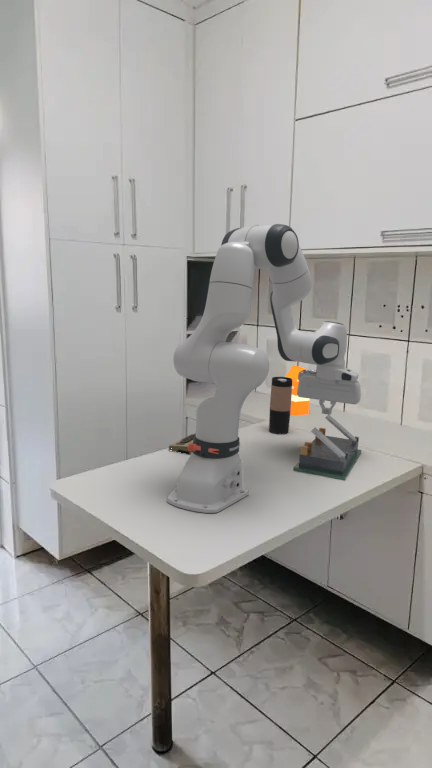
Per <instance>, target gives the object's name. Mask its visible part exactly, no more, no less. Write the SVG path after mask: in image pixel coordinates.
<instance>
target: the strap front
mask: <svg viewBox="0 0 432 768" xmlns="http://www.w3.org/2000/svg"><path fill="white" fill-rule="evenodd" d="M310 432H311V433H312V434H313V435H314V436H317V437H318V438H319V439H320V440H321V441H322V442H323V443H324V444H326V445H327V446H328V447H329V448H330V449H331V450H332V451H333V452H335V453H336V454H337V455H338V456H339V457H340V458H341V456H344V457H345V456H346V454H345V453H344V452H343V451H341V450H340V449H339V448H338V447H337V446H336V445H335V444H334V443H332V442H331V441H330V440H329V439H328V438H327V437H326V436H327V435H326V434H325V435H323V434H322V433H321V432H320V431H319V428H317V427H316V426H315V427H313V429H312V430H310Z"/></svg>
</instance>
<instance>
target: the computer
mask: <svg viewBox="0 0 432 768" xmlns="http://www.w3.org/2000/svg"><path fill="white" fill-rule="evenodd" d="M195 435H196V432H195V433H190V434H189V435H187V436H185V437H183V438H181V439H179V440H177V441H176V442H174V443H172V444H169V446H168V451H169V450H172V451H171V452H173V451H176V452H175V453H178V452H181V453H180V454H183V453H186V454H185V455H189V456H190V455H191V453H192V451H188V448H187V447H188V444H189V443H192V442H193V439H194V436H195ZM171 448H172V449H171Z"/></svg>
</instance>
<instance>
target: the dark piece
mask: <svg viewBox="0 0 432 768" xmlns="http://www.w3.org/2000/svg"><path fill="white" fill-rule="evenodd" d="M318 430H319V431H320V432H321V433H322V434H323V435H325V436H326V437H327V438H328V439H329V440H330V441H331V442H332V443H334V444H335V445H336V446H337V447H338V448H339V449H340V450H341V451H343V452H344V453H345V454H346V456H345V457H344V456H341V458H340V457H339V456H338V455H337V454H336V453H335V452H333V451H332V450H331V449H330V448H329V447H328V446H327V445H326V444H324V443H323V442H322V441H321V440H320V439H319V438H318V437H317V436H315V435H314V436H315V438H314V440H312V441H305V442H304V445H301V446H300V449H299V450H300V451H299V453H300V454H299V459H298V462H297V463H296V464H295V465H294V466H293V471H294V472H298V473H303V474H310V475H315V476H321V477H325V478H330V479H336V480H339V481H346V478H347V477H348V476H349V474H350V472H351V471H352V469H353V468H354V466H355V464H356V463H357V461H358V459H359V458H360V456H361V454H362V449H359V448H358V447H359V441H360V436H354V437H355V438H356V439H357V440H352V441H351V440H349V439H348V438H341V437H337V436H329V435H326V433H327V432H326V431H327V428H325V427H319V428H318ZM293 471H292V472H293Z"/></svg>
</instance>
